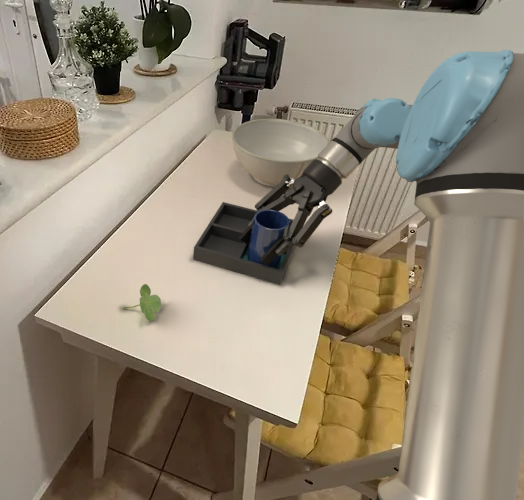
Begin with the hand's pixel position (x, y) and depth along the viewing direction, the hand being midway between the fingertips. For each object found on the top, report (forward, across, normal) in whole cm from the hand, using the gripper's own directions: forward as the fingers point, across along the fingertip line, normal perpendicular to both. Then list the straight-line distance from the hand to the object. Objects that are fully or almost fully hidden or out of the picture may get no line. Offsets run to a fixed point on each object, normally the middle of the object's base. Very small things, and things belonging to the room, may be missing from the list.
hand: (252, 251), depth 92 cm
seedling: (+22, -1, +15) cm, 26 cm away
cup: (0, 0, -5) cm, 5 cm away
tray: (+1, +7, -6) cm, 9 cm away
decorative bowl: (-17, +31, -24) cm, 43 cm away
